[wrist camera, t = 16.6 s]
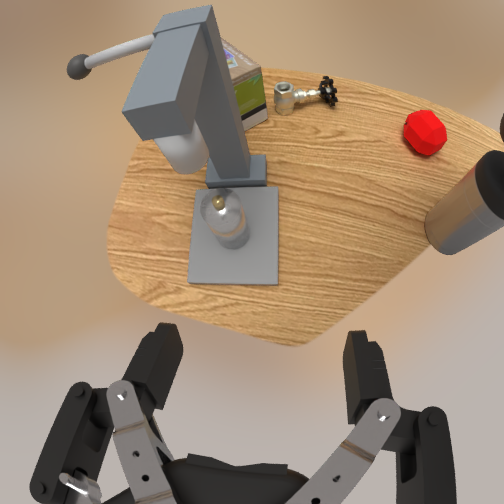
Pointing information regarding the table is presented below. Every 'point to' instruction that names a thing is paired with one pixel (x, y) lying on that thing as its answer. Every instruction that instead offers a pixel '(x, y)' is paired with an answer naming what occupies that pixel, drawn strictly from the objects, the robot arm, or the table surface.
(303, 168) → the table surface
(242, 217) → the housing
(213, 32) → the press
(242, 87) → the tea box
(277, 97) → the valve
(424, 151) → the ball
